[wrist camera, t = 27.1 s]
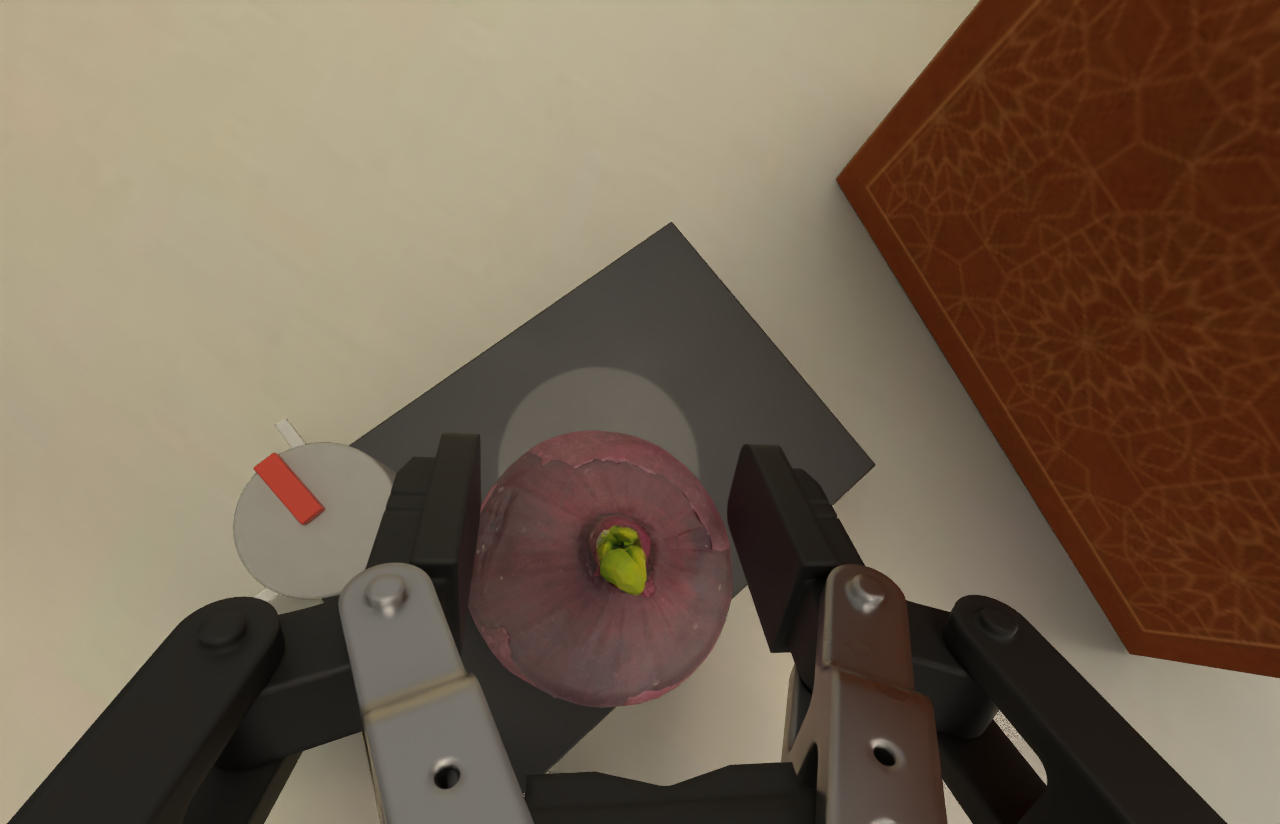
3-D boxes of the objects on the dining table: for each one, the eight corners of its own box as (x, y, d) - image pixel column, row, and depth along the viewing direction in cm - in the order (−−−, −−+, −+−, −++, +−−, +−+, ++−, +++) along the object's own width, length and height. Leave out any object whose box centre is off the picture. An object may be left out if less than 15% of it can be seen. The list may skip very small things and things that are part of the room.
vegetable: (510, 434, 19) (504, 305, 10) (706, 486, 20) (883, 415, 10) (447, 646, 17) (364, 746, 8) (664, 694, 18) (827, 839, 9)
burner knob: (451, 529, 19) (429, 522, 15) (348, 617, 18) (295, 636, 14) (372, 439, 19) (329, 408, 15) (266, 521, 18) (189, 512, 14)
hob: (444, 839, 20) (431, 882, 17) (199, 512, 20) (152, 505, 18) (842, 473, 24) (879, 464, 22) (630, 219, 25) (642, 181, 23)
